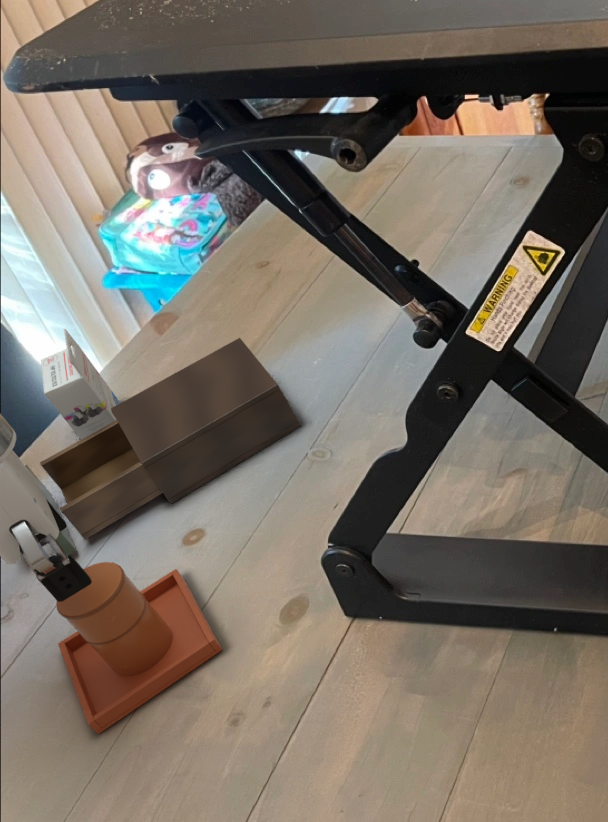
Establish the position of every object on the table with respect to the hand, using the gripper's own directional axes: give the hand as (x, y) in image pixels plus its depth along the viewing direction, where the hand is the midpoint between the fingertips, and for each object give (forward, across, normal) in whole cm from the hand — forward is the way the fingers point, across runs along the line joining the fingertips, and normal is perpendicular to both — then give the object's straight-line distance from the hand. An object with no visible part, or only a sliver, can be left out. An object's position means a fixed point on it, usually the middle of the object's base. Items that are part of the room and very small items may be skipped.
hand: (63, 562), depth 105 cm
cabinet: (+16, -26, +18) cm, 36 cm away
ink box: (+17, -41, +7) cm, 45 cm away
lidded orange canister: (+15, +1, 0) cm, 15 cm away
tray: (+16, +1, 0) cm, 16 cm away
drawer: (+15, -26, +3) cm, 31 cm away
